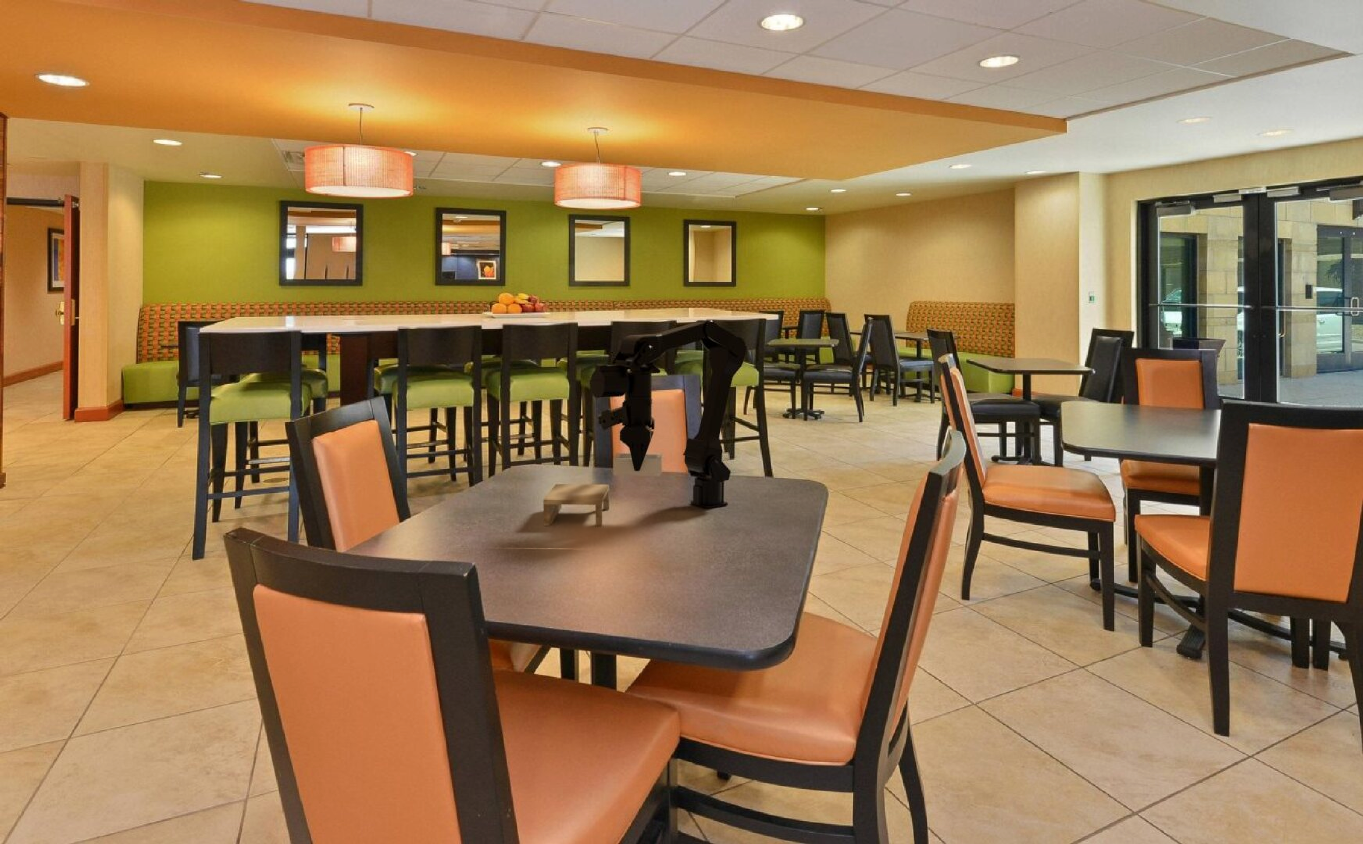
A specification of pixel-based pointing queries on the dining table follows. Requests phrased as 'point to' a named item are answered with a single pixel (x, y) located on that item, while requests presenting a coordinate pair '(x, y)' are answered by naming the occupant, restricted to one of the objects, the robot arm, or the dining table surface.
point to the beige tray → (648, 468)
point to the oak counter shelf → (575, 499)
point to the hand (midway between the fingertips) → (638, 467)
